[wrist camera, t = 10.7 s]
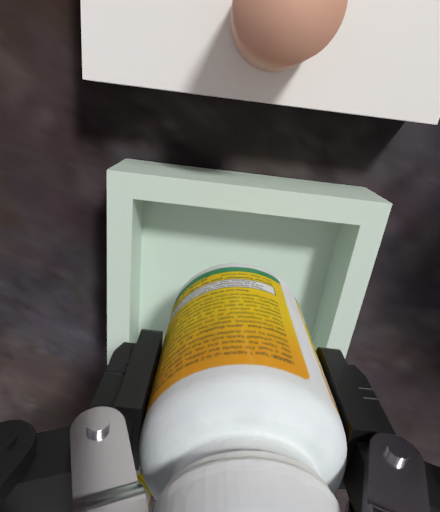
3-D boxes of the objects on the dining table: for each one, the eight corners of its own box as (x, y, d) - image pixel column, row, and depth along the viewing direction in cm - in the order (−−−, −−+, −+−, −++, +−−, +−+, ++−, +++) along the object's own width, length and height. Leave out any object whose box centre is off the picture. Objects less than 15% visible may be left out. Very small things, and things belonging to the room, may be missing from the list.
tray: (122, 356, 21) (107, 395, 18) (126, 158, 17) (106, 169, 14) (313, 375, 21) (327, 416, 18) (364, 187, 17) (392, 203, 14)
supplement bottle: (322, 320, 16) (451, 598, 7) (228, 385, 17) (235, 686, 8) (241, 231, 14) (273, 443, 5) (145, 310, 16) (45, 583, 7)
